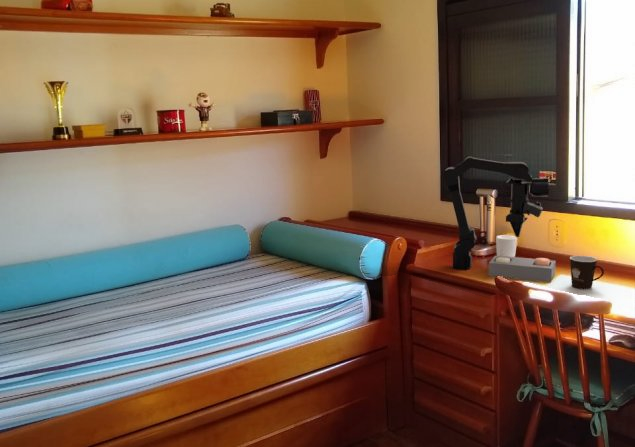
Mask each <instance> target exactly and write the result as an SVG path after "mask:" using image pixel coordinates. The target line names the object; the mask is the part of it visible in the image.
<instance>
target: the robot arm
mask: <svg viewBox="0 0 635 447" xmlns="http://www.w3.org/2000/svg"><path fill="white" fill-rule="evenodd" d="M470 169H475V170H483V171H489V172H495V173H501V174H505V175H507V176H510V178H509V179H508V180H507V181H506V185H511V191H510V192H511V196H510V199H509V202H510V209H509V213H508V214H507V215H505V222H506V223H509V224H510V226H511V228H512V231H513V233H514V236H515V237H517V238H520V235H521V232H522V228H523V224H524V223H525V222H526V221H527V220H528V217H526V215H527V216H530V215H533V216H534V217H536V218H540V217H541V214H542V212H543V210H544V208H543V206H542V203H541V202H539V201H536V202H535V203H532V202H530V200H529V197H528V193H529V194H530V195H531V196H532V197H549V196H550V187H549V178H548V177H543V178H536V177H535V178H533V176H532V175H531V174H530V172H529V167H528V164H526V163H525V162H523V161H506V162H505V161H498V160H497V161H496V160H490V159H483V158H479V157H478V158H477V157H473V156H468V157H466V158H465V159H464V160H462V161H461V162H459V163H458V164H456V165H455V166H454V167H453V166H450V167H449V166H448V167H447V168H446V169H445V171H444V172H443V174H442V179H443V182H444V183H445V186H446V188H447V190H448V192H449V194H450V197H451V202H452V206H453V209H454V213H455V217H456V221H457V225H458V241H457V242H456V243H455V244H454V247H453V252H452V266H451V269H456V270H465V271H468V270H470V268H472V266H473V255H471V254H472V252H471V250H472V249H474V247H475V245H476V241H477V235H476V233H475V232H476V231H475V227H471V226H470V225H469V221H468V217H467V213H466V210H465V206H464V201H463V197H462V193H461V186H460V183H461V182H460V176H462V175H464V174H465V173H466V172H467V171H469V170H470ZM522 179H523V180H524V181H522Z"/></svg>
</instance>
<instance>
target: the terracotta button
mask: <svg viewBox="0 0 635 447" xmlns="http://www.w3.org/2000/svg"><path fill="white" fill-rule="evenodd" d="M534 259H535V265H541V266H549V263H550V260H551V259H549V258H547V257H536V258H534Z"/></svg>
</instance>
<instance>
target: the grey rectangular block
mask: <svg viewBox="0 0 635 447" xmlns="http://www.w3.org/2000/svg"><path fill="white" fill-rule="evenodd" d="M499 257H505V258H509V259H510V263H508V262H497V261H496V258H499ZM535 259H536V258H530V257H529V258H527V257H517V256H515V257H507V256H497V254H496V255H494V256H493V257H492V258H491V260H490V261H489V262H488V277H495V276H503V277H502V278H507V279H515V278H516V280H517V279H518V280H525V281H526V280H527V281H536V282H544V283H547V282H548V283H552V281H553V279H554V277H555V275H556V260H553V259H549V260H550V263H549V266H541V265H535Z"/></svg>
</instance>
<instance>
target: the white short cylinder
mask: <svg viewBox="0 0 635 447" xmlns="http://www.w3.org/2000/svg"><path fill="white" fill-rule="evenodd" d="M496 261H497V262H508V263H510V259H509V258H505V257H499V258H496Z"/></svg>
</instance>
